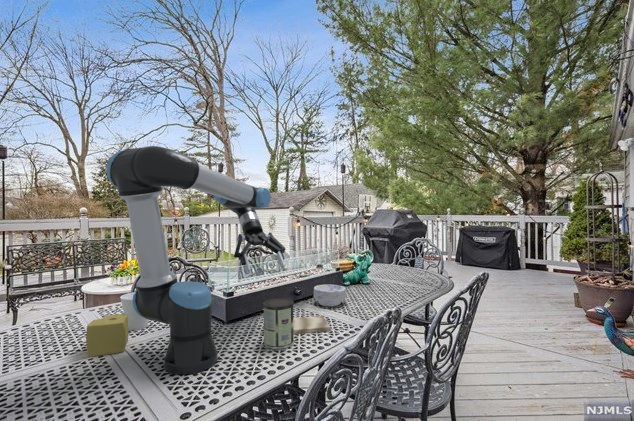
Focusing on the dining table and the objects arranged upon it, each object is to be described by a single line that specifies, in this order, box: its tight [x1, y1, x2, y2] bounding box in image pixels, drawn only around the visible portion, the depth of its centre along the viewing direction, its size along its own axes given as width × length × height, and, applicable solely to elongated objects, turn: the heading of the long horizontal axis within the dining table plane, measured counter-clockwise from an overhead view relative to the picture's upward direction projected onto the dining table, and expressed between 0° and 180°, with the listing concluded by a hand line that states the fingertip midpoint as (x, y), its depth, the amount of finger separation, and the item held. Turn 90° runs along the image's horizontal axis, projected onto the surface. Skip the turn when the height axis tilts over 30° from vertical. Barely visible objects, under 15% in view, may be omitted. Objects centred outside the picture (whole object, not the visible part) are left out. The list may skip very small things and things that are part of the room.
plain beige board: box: [293, 315, 332, 335], centre depth 133 cm, size 18×13×2 cm
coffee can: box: [262, 297, 295, 350], centre depth 117 cm, size 10×10×14 cm
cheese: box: [85, 313, 129, 358], centre depth 113 cm, size 10×11×10 cm
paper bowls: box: [313, 284, 347, 308], centre depth 163 cm, size 15×15×8 cm
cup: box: [119, 291, 150, 331], centre depth 133 cm, size 12×12×12 cm
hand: (266, 269), depth 125 cm, fingers open, 13 cm apart
